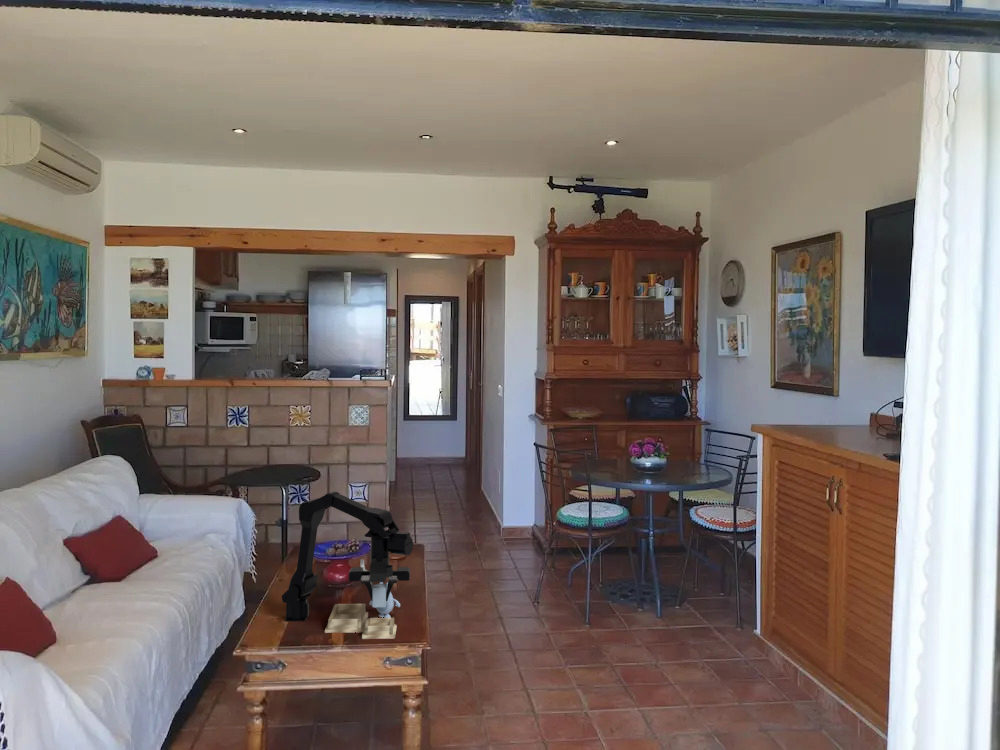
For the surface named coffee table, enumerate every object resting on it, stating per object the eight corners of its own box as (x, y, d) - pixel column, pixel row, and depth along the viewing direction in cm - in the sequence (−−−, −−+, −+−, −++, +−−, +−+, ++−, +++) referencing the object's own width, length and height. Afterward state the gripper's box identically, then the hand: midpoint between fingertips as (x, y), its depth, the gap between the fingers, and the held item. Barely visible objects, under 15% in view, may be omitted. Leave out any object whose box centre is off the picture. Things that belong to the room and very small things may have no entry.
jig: (322, 639, 231) (322, 626, 231) (332, 615, 252) (332, 603, 252) (394, 638, 232) (394, 625, 232) (398, 614, 253) (398, 602, 253)
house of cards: (377, 583, 287) (377, 563, 287) (354, 583, 287) (354, 563, 287) (380, 576, 296) (380, 556, 296) (358, 576, 296) (358, 556, 296)
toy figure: (366, 620, 248) (366, 583, 247) (372, 613, 254) (372, 578, 253) (397, 622, 246) (397, 585, 246) (402, 615, 252) (402, 580, 252)
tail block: (372, 607, 234) (372, 588, 234) (373, 603, 238) (373, 584, 238) (385, 607, 234) (385, 588, 234) (386, 602, 238) (386, 584, 238)
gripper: (346, 559, 227) (346, 610, 227) (409, 558, 228) (408, 609, 229) (350, 549, 238) (350, 598, 239) (410, 548, 239) (410, 597, 240)
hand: (379, 601), depth 236 cm, fingers closed on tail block, 4 cm apart
